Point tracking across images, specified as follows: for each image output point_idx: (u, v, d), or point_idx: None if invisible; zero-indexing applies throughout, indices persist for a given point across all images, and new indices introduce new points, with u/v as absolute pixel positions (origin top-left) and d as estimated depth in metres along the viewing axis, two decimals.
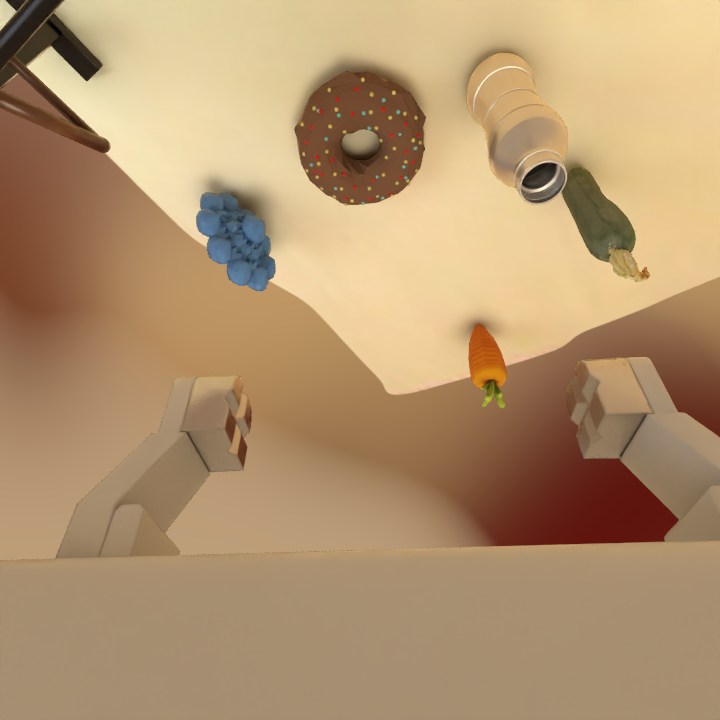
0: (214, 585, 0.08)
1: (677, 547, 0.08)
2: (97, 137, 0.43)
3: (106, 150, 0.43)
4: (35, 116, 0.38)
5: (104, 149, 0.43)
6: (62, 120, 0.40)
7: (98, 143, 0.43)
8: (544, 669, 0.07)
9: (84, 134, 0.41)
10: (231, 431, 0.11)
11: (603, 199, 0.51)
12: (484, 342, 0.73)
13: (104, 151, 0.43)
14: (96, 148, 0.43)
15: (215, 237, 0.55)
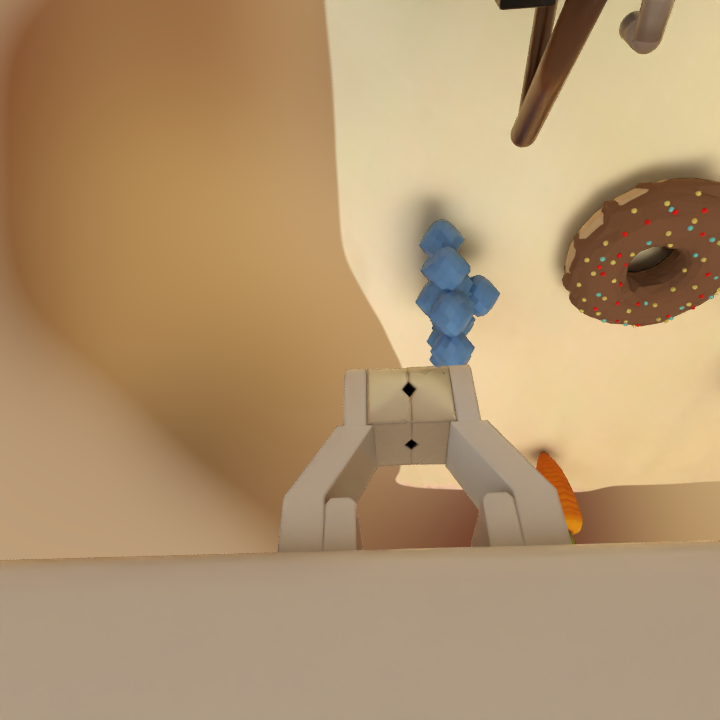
0: (214, 585, 0.08)
1: (677, 547, 0.08)
2: None
3: (527, 145, 0.24)
4: (578, 51, 0.18)
5: (526, 142, 0.24)
6: None
7: (538, 132, 0.23)
8: (543, 668, 0.07)
9: None
10: None
11: None
12: (563, 481, 0.65)
13: (524, 145, 0.24)
14: (527, 137, 0.23)
15: (459, 297, 0.37)
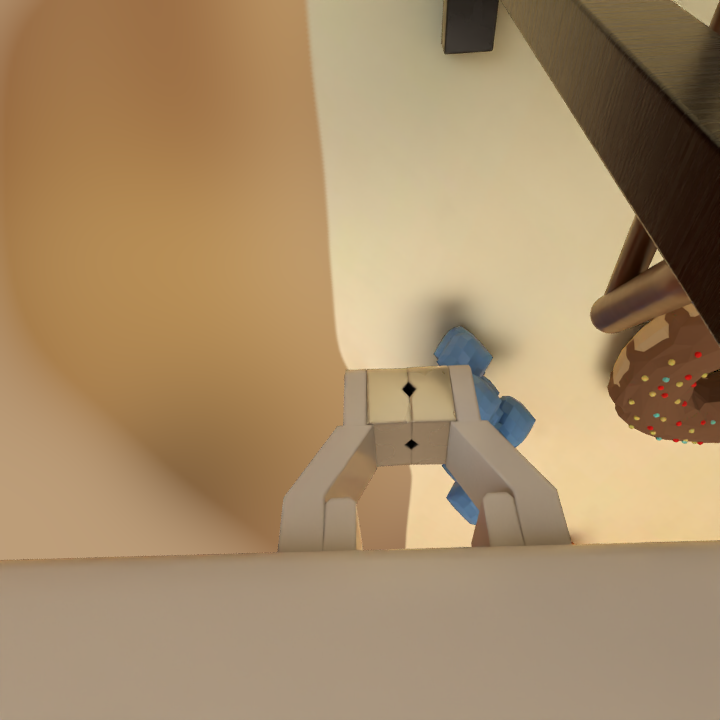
0: (214, 585, 0.08)
1: (677, 547, 0.08)
2: None
3: None
4: None
5: None
6: None
7: None
8: (543, 669, 0.07)
9: None
10: None
11: None
12: None
13: (612, 332, 0.16)
14: (621, 328, 0.15)
15: None
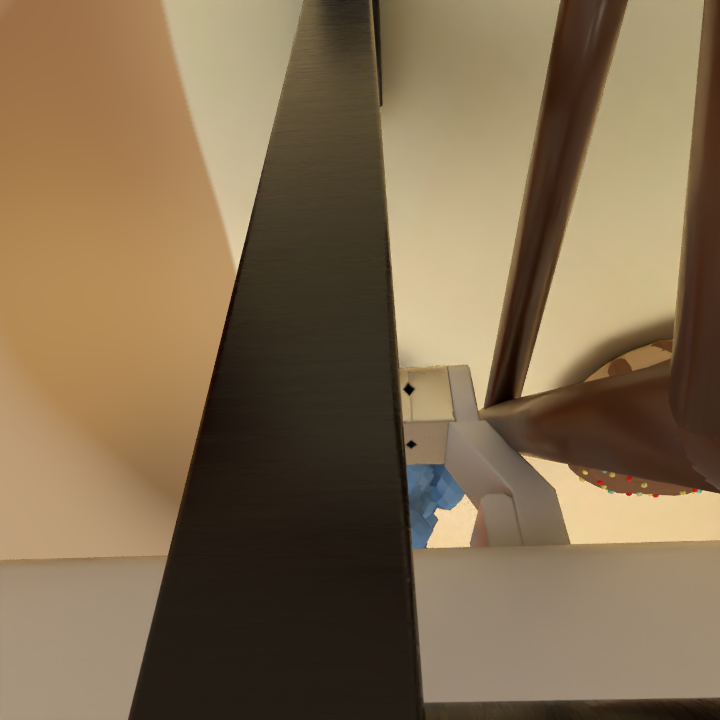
0: None
1: (677, 547, 0.08)
2: None
3: None
4: None
5: None
6: None
7: None
8: (543, 669, 0.07)
9: None
10: None
11: None
12: None
13: None
14: None
15: (411, 513, 0.26)
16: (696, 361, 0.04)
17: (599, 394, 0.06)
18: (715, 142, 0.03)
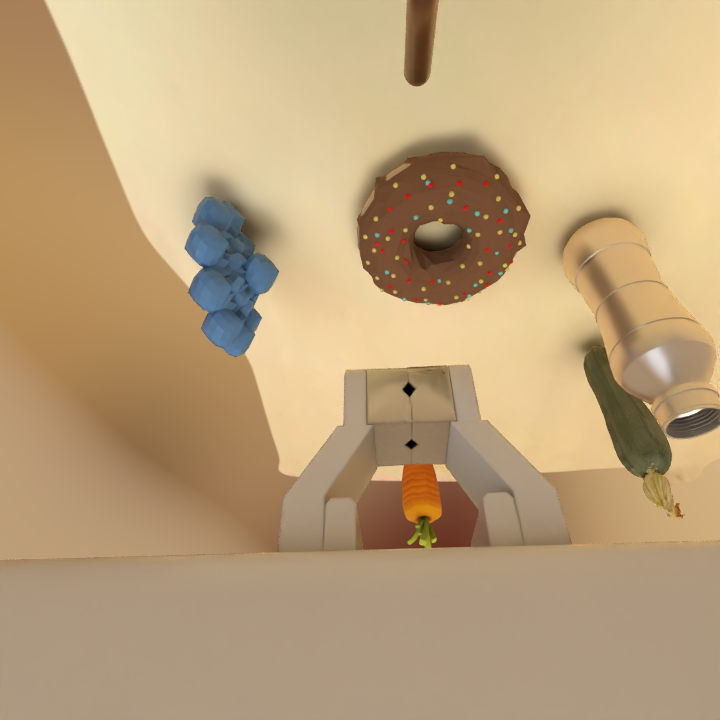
0: (214, 585, 0.08)
1: (677, 547, 0.08)
2: None
3: (421, 84, 0.23)
4: None
5: (419, 80, 0.23)
6: None
7: (427, 67, 0.23)
8: (543, 669, 0.07)
9: (432, 43, 0.21)
10: None
11: (645, 406, 0.48)
12: (427, 468, 0.65)
13: (417, 83, 0.23)
14: (417, 73, 0.23)
15: (213, 272, 0.37)
16: None
17: None
18: None
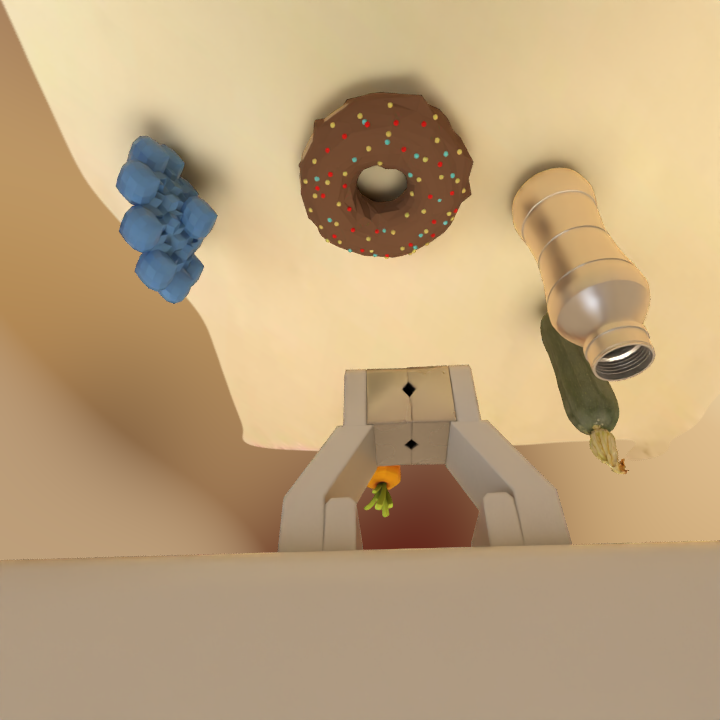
0: (214, 585, 0.08)
1: (677, 547, 0.08)
2: None
3: None
4: None
5: None
6: None
7: None
8: (543, 669, 0.07)
9: None
10: None
11: None
12: None
13: None
14: None
15: (143, 209, 0.36)
16: None
17: None
18: None
